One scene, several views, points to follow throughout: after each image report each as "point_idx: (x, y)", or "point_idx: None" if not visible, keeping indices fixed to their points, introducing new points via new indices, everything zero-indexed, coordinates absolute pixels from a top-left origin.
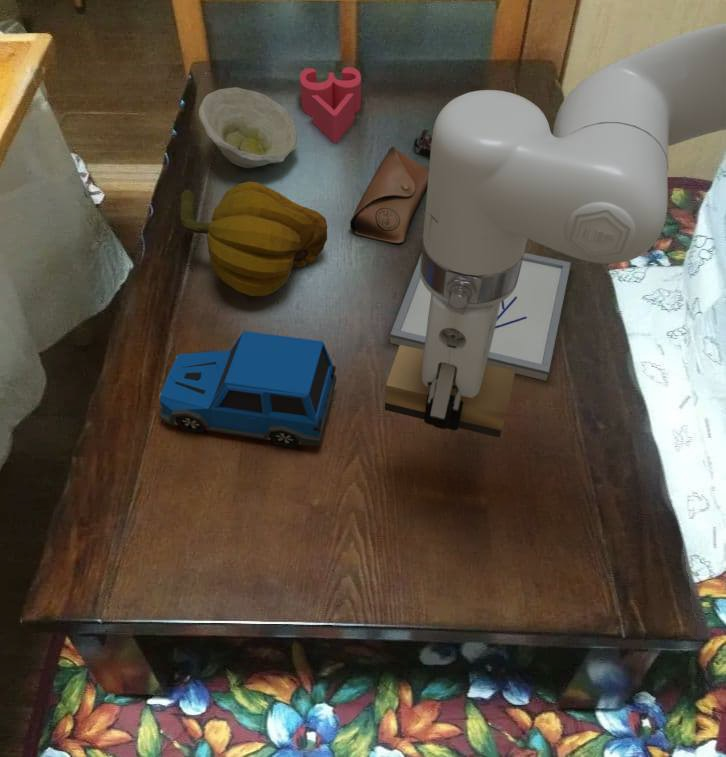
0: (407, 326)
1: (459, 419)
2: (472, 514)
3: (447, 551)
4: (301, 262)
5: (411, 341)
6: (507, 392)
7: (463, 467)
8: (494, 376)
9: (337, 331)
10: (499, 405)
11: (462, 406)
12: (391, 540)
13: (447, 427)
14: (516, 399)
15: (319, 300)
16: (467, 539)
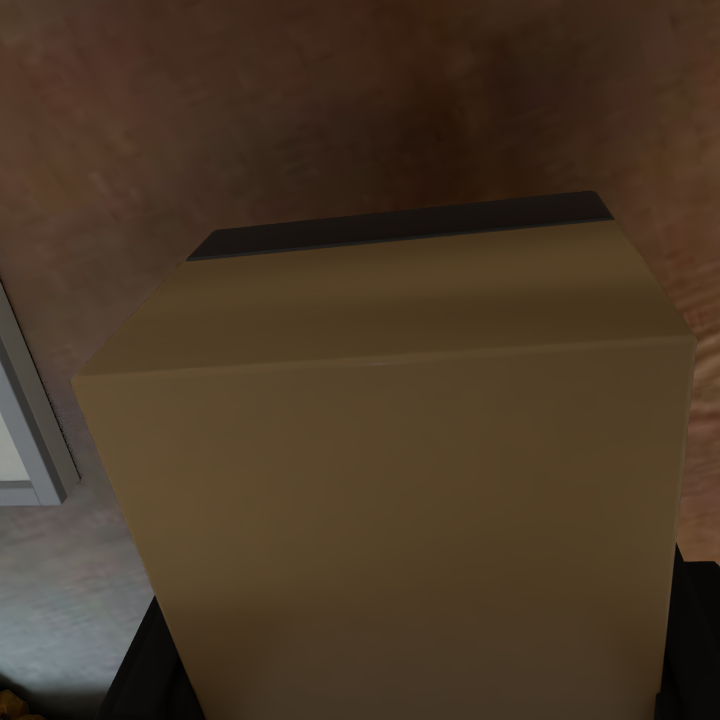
0: (7, 469)
1: (682, 560)
2: (527, 80)
3: (690, 116)
4: (8, 708)
5: (45, 448)
6: (387, 389)
7: (364, 168)
8: (250, 530)
9: (126, 586)
10: (601, 426)
11: (679, 665)
12: (690, 289)
13: (716, 569)
14: (26, 81)
15: (72, 638)
16: (628, 65)
